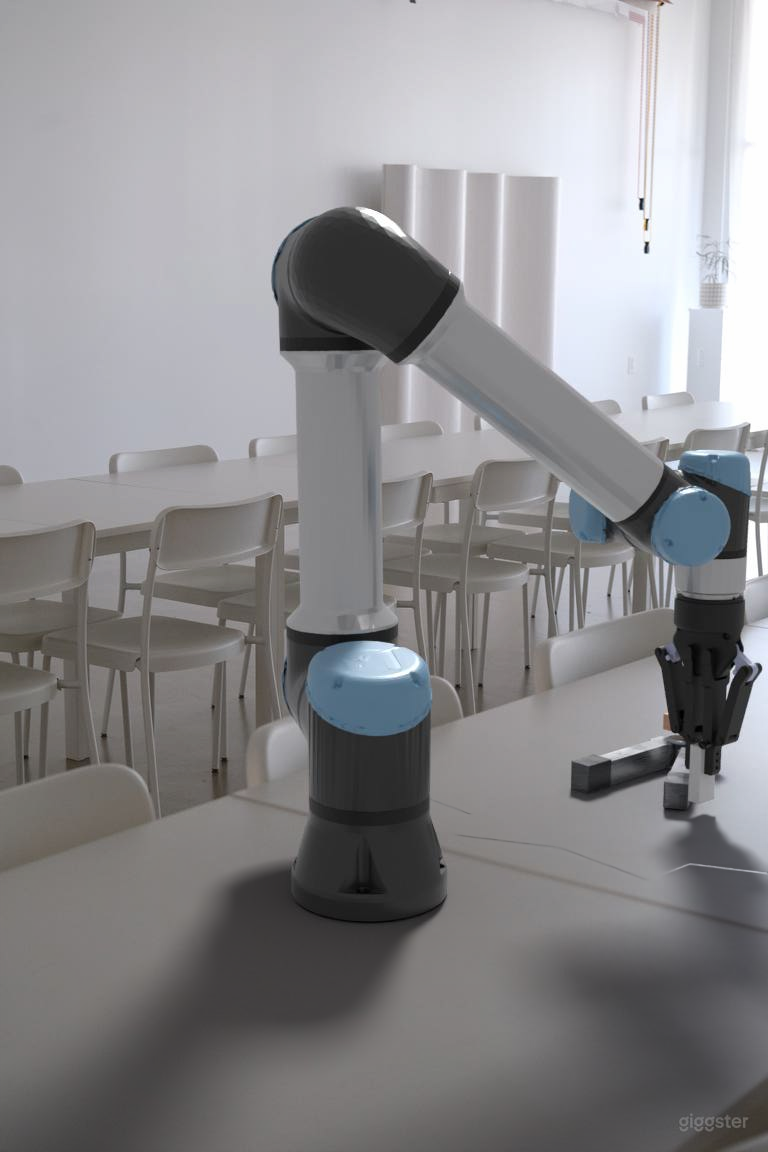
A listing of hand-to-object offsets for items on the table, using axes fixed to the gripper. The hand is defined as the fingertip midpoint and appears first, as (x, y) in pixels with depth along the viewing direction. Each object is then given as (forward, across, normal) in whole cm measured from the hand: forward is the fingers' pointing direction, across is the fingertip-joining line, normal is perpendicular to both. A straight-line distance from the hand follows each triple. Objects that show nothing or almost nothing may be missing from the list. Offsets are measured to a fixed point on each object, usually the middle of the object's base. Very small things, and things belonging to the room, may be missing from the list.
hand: (701, 799), depth 155 cm
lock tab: (-2, +12, -14) cm, 19 cm away
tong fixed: (+2, +13, -4) cm, 14 cm away
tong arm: (+1, +8, -6) cm, 10 cm away
